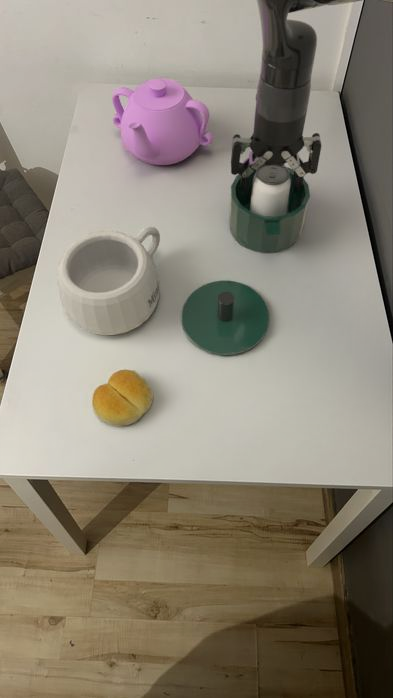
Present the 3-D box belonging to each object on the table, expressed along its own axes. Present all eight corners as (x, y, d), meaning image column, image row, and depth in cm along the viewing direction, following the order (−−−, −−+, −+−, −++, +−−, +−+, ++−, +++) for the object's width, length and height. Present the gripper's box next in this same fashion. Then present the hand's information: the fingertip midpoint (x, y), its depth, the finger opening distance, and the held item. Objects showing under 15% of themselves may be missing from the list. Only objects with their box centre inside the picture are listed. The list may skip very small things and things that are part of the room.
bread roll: (84, 404, 77) (78, 393, 74) (128, 367, 80) (124, 355, 77) (118, 440, 74) (113, 430, 71) (163, 400, 77) (160, 390, 74)
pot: (297, 188, 99) (304, 153, 92) (306, 264, 90) (315, 231, 82) (228, 189, 99) (229, 154, 92) (230, 265, 90) (232, 232, 83)
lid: (265, 283, 88) (269, 261, 82) (271, 356, 81) (275, 337, 75) (182, 284, 88) (181, 262, 83) (180, 357, 81) (178, 337, 76)
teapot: (91, 176, 102) (75, 115, 90) (131, 111, 112) (121, 48, 100) (193, 198, 98) (190, 138, 86) (224, 129, 108) (226, 66, 96)
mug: (117, 358, 81) (106, 325, 72) (45, 307, 86) (26, 271, 78) (197, 273, 89) (195, 235, 81) (126, 232, 95) (118, 191, 86)
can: (245, 233, 93) (250, 183, 82) (252, 208, 96) (257, 157, 86) (280, 239, 92) (289, 189, 82) (285, 214, 95) (295, 162, 85)
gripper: (233, 121, 71) (229, 206, 85) (334, 119, 71) (313, 205, 85) (232, 89, 75) (228, 175, 89) (327, 87, 74) (309, 174, 89)
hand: (270, 189), depth 87 cm, fingers open, 8 cm apart
